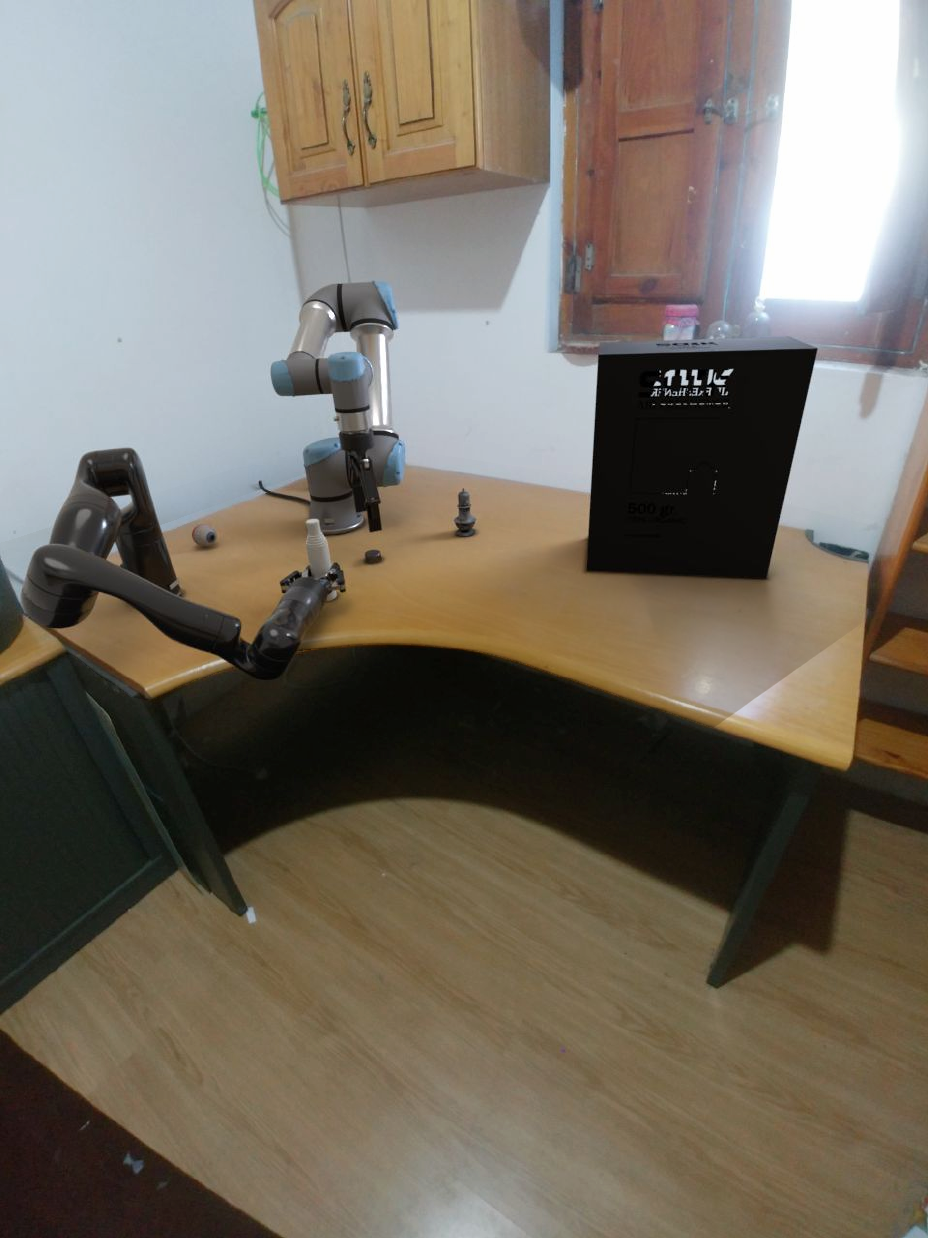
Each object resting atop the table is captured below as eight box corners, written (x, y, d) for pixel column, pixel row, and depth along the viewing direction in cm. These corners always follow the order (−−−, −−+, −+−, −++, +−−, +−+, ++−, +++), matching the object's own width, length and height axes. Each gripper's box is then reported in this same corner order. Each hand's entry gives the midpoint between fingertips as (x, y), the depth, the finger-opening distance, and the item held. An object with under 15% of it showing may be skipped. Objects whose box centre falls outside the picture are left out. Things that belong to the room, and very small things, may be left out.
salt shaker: (474, 536, 157) (472, 491, 151) (452, 536, 158) (449, 491, 152) (478, 528, 161) (476, 484, 155) (457, 527, 163) (454, 484, 157)
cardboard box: (748, 541, 145) (788, 336, 123) (766, 578, 128) (817, 348, 106) (588, 536, 153) (599, 342, 130) (586, 571, 136) (598, 354, 113)
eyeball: (205, 552, 157) (199, 530, 154) (190, 548, 160) (184, 526, 157) (224, 544, 161) (219, 522, 158) (209, 540, 164) (203, 519, 161)
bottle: (328, 590, 134) (315, 515, 126) (340, 595, 132) (327, 519, 123) (312, 597, 132) (297, 521, 123) (324, 603, 129) (309, 526, 120)
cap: (362, 560, 147) (361, 553, 146) (375, 555, 150) (373, 548, 149) (372, 565, 145) (371, 557, 144) (384, 559, 147) (383, 552, 146)
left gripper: (270, 621, 119) (297, 582, 134) (340, 620, 118) (360, 581, 132) (261, 587, 115) (290, 551, 130) (334, 586, 114) (355, 549, 129)
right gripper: (327, 420, 141) (341, 506, 152) (351, 446, 121) (365, 543, 132) (358, 415, 143) (370, 501, 154) (387, 440, 123) (398, 536, 134)
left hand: (325, 566), depth 131 cm, fingers closed on bottle, 4 cm apart
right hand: (368, 520), depth 143 cm, fingers open, 13 cm apart
